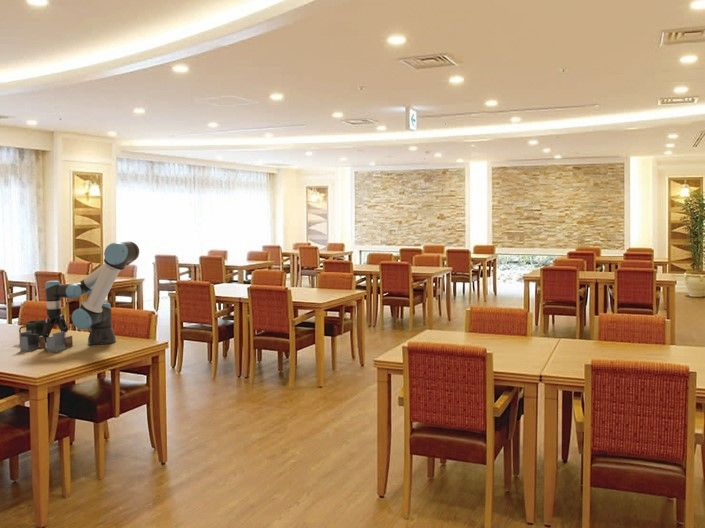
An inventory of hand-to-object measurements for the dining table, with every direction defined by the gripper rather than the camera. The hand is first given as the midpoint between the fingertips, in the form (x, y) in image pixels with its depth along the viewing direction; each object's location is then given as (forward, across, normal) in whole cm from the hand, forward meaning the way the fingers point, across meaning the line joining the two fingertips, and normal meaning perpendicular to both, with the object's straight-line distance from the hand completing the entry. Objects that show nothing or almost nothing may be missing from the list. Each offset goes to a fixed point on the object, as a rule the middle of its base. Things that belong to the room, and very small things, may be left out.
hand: (55, 345), depth 391 cm
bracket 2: (0, +11, +8) cm, 14 cm away
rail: (0, 0, 0) cm, 0 cm away
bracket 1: (0, +11, -8) cm, 14 cm away
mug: (0, -9, -22) cm, 24 cm away
